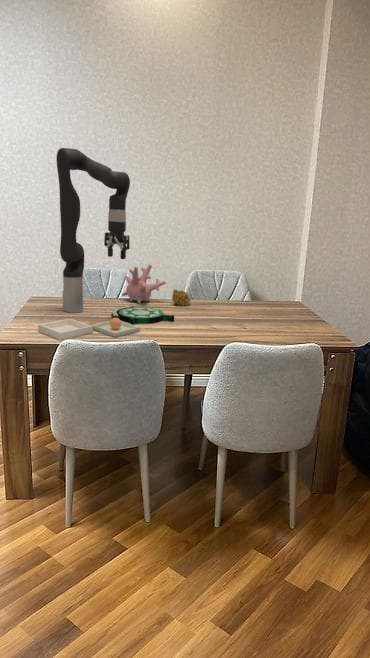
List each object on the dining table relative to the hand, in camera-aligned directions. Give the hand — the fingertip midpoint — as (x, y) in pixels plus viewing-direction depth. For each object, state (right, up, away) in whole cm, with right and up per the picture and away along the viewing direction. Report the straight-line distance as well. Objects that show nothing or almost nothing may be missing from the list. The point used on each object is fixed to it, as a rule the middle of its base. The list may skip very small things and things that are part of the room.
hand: (116, 257), depth 215 cm
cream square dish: (-20, -33, -9) cm, 40 cm away
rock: (+29, -18, +51) cm, 61 cm away
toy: (+6, -17, +52) cm, 55 cm away
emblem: (+10, -27, +18) cm, 34 cm away
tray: (0, -32, -3) cm, 32 cm away
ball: (0, -29, -4) cm, 29 cm away
